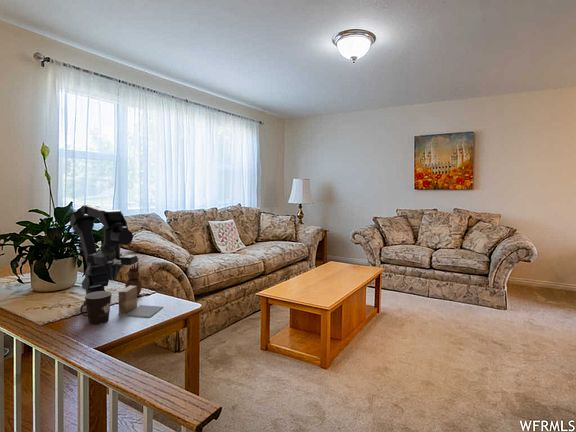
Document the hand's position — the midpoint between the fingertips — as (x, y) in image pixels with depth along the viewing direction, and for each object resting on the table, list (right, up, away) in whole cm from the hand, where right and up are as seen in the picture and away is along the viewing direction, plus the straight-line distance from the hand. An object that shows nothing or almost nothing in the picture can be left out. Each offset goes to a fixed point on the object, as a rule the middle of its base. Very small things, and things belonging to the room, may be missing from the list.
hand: (112, 280), depth 139 cm
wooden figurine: (0, -11, +19) cm, 22 cm away
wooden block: (+6, -12, 0) cm, 14 cm away
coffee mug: (-1, -13, -12) cm, 18 cm away
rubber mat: (+13, -13, 0) cm, 18 cm away
